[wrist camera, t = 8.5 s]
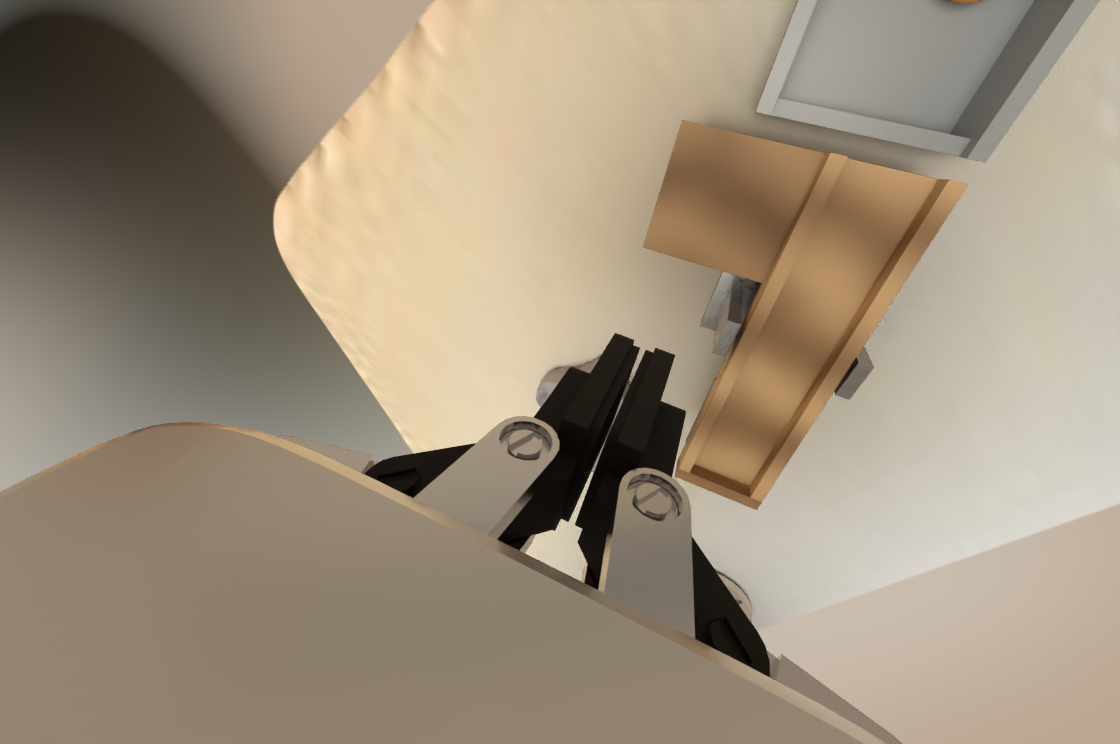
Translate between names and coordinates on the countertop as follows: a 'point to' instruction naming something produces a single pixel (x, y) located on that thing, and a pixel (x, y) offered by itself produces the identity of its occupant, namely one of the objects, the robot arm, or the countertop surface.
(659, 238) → the seesaw
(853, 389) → the fulcrum
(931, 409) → the countertop surface
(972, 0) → the ball
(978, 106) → the tray
